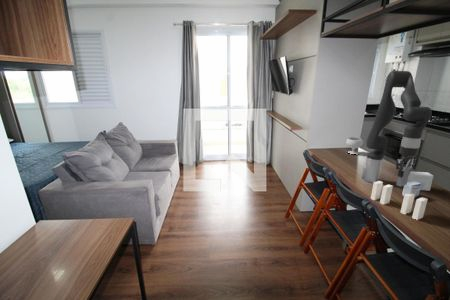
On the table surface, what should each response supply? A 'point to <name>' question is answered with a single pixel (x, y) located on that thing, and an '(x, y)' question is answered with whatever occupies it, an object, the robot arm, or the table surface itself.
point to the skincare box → (421, 179)
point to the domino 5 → (419, 208)
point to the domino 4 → (407, 203)
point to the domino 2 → (386, 194)
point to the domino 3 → (403, 180)
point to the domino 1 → (376, 190)
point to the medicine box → (412, 188)
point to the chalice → (354, 144)
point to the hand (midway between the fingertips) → (403, 175)
